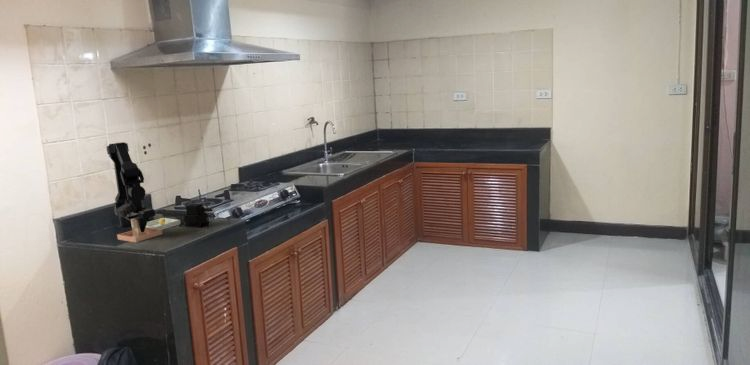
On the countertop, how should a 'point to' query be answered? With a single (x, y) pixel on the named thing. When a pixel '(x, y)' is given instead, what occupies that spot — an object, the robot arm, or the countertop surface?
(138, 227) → the birch block
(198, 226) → the toy
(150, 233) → the terracotta dish
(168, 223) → the grey tub
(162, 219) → the mustard ball
